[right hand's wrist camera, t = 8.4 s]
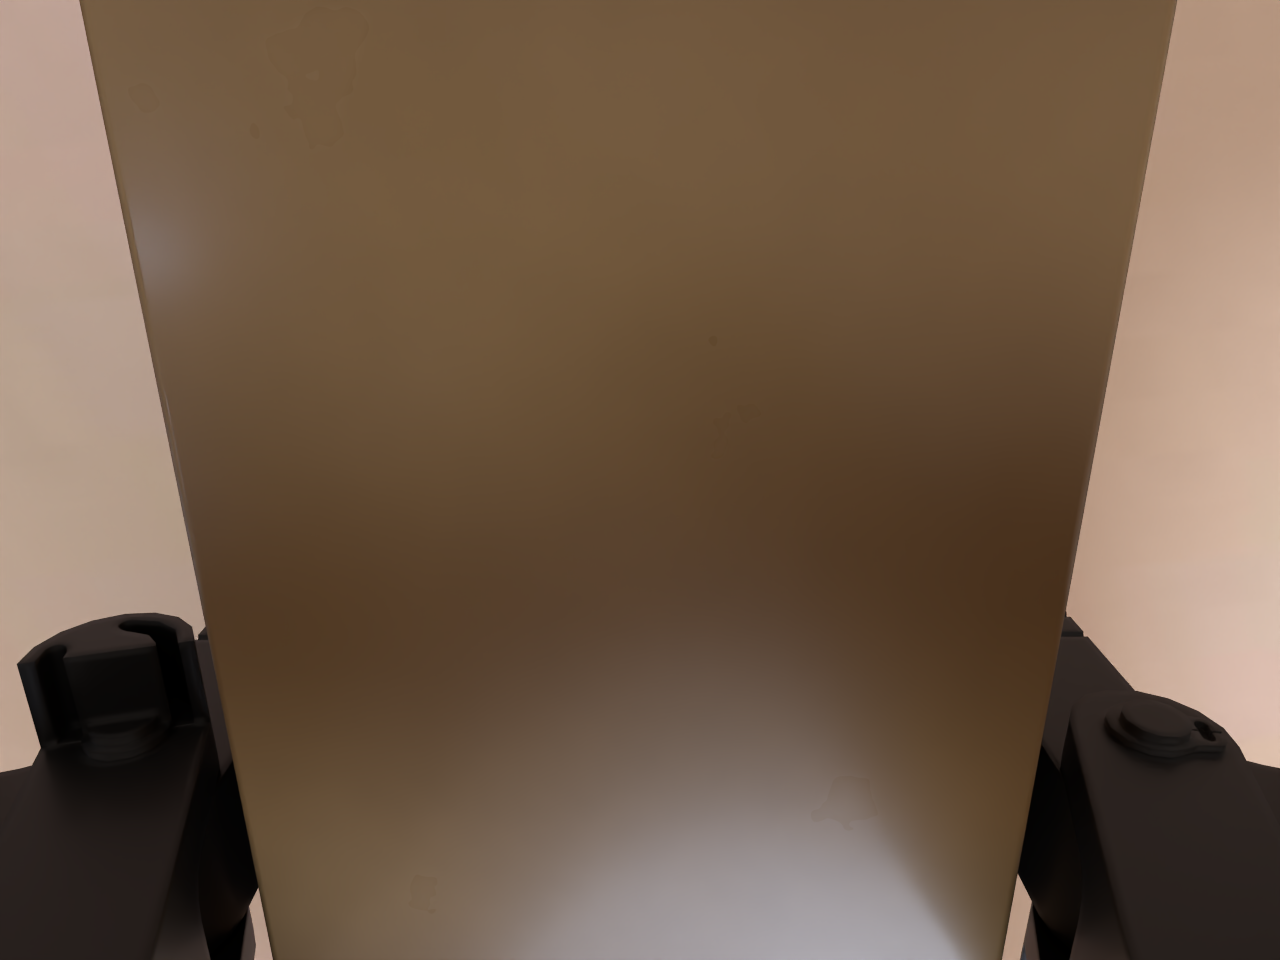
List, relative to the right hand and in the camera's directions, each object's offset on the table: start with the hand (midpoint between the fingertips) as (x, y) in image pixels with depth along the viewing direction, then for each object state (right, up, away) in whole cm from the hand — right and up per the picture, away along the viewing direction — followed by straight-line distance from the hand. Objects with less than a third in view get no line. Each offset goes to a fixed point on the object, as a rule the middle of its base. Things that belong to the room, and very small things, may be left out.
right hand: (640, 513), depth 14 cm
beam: (0, -17, +7) cm, 19 cm away
